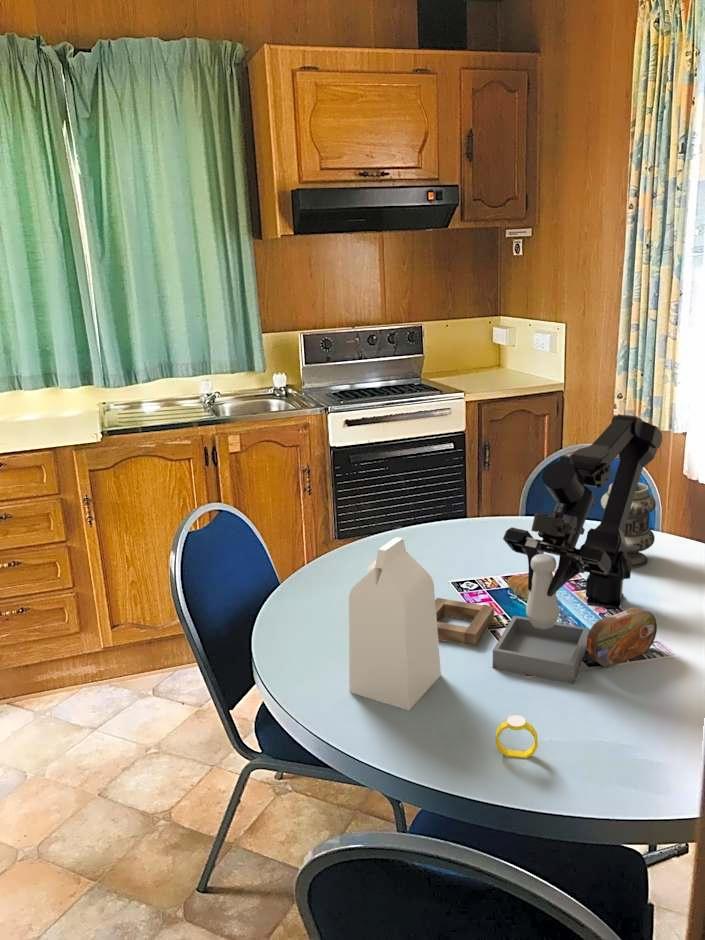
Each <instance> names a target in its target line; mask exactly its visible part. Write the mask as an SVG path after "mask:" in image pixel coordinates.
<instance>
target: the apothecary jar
mask: <svg viewBox="0 0 705 940" xmlns="http://www.w3.org/2000/svg"><path fill="white" fill-rule="evenodd" d="M612 484H613V482H612V483H611V484H609V486H608V490H607V492H605V493H604V494H603V495H602V496H601V499H600V504H601V507H602V508H603V510H605V507H606V504H607V501H608V497H609V494H610V491H611V487H612ZM656 506H657V503H656V500H655V498H654V497H653V495H652V494H650V491H649V486H648V485H646V484H645V483H642V482H638V485H637V488H636V492H635V495H634V498H633V502H632V505H631V509H630V512H629V515H628V519H627V522H626V525H625V529H624V532H623V534H624V537H625V541H626V544H627V555H628V557H629V558H630V560H631V562H632V569H633V568H634V569H635V568H640V567H644V566H645V565H647V564H648V562H649V559H648V557H647V556H646V555H645V554H644V553H642V552H644V551H646V550H647V549H650V548H651V547H652V546H653V544H654V543H655V537H656V536H655V534H654V532H653V531H652V530H651V528H650V514H651V513H652V512H653V511H654V510H655V509H656Z"/></svg>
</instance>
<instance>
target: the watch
mask: <svg viewBox="0 0 705 940" xmlns="http://www.w3.org/2000/svg"><path fill="white" fill-rule="evenodd" d="M506 729H510V730H511V731H512V730H513V731H521V730H522V731H523V730H526V731H528V732H530V734H531V735H532V737H533V738H534V742H533V744H532V746H531V747H530V748H528V749H526V750H524V751H523V750H513V749H507V748H506V747H505V746H504V745H502V743H501V741H500V735H501V734H502V732H504V730H506ZM495 745H496V747H497V749H498V751H499V753H501V754H502V755H504V756H505V757H506V758H518V759H519V758H521V759H528V758H530V757H531V756H533V755H534V754H535V753H536V751H537V749H538V745H539V744H538V733H537V731H536V730H535V728H534V726H532V724H530V723H529V722H527V721H526V718H525V717H523V716H522V715H510V716H509V717H507V718H506V720H505V721H503V722H502V723H501V724H500V725H499V726H498V727H497V728H496V731H495Z"/></svg>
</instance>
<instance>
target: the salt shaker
mask: <svg viewBox="0 0 705 940" xmlns="http://www.w3.org/2000/svg"><path fill="white" fill-rule="evenodd" d="M531 568H532V570H534V573H533V578H532V587H531V591H530V592H529V597H528V600H527V603H526V608H525V613H526V616H527V618H529V621H530V623H531V624H532V625H533V627H535V628H540V629H548V628H551V627H553V626H554V624H555V623H557V622H556V621H557V620H558V618H559V616H560V608H559V604H558V597H557V592H556V593H554V594H553V595H552V596H551V597H549V596H548V595H547V593H548V589H549V586H550V584H551V581H552V579H553V577H554V574H553V573H554V572H555V571H556V570H557V561H556V558H555V557H554V556H552V554H551V555H550V554H548V553H547V554H545V553H544V554H538V555H535V556H534V557H533V558H532V559H531Z"/></svg>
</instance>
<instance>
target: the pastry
mask: <svg viewBox="0 0 705 940" xmlns="http://www.w3.org/2000/svg"><path fill="white" fill-rule="evenodd" d="M507 586H508V587H509V588H510V589H511V590H512V591H513V593H514V595H517V596H519V597H521V598H522V599H524V600H526V601H528V597H529V592H530V591H529V590H528V575H525V574H524V575H521V574H520V575H512V576H510V577H508V578H507Z"/></svg>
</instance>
